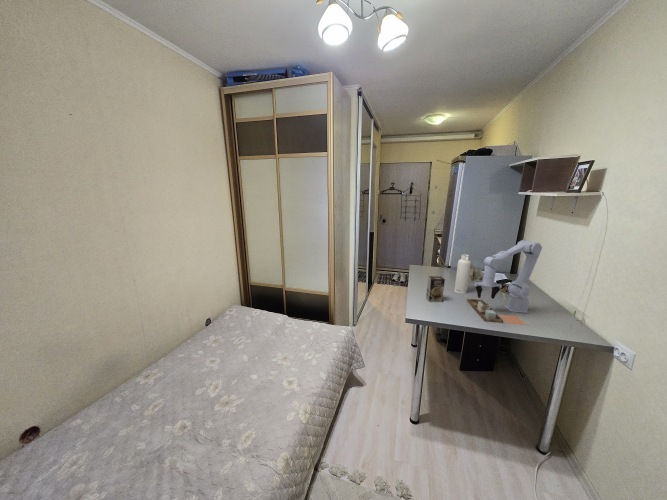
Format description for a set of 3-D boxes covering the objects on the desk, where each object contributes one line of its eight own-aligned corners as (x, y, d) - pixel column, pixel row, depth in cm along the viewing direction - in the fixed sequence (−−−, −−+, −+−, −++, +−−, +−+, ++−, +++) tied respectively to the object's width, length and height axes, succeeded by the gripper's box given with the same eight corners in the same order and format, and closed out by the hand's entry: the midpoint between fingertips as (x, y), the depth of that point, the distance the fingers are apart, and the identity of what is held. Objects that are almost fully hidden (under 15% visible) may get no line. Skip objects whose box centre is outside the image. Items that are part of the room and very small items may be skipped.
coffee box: (428, 301, 166) (431, 279, 162) (425, 297, 173) (427, 275, 169) (442, 302, 166) (445, 279, 162) (438, 298, 172) (441, 276, 168)
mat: (516, 316, 147) (516, 316, 147) (526, 325, 138) (527, 324, 137) (498, 315, 148) (498, 314, 148) (507, 324, 139) (507, 323, 139)
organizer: (481, 302, 166) (482, 299, 165) (502, 323, 140) (503, 320, 139) (466, 301, 167) (466, 298, 167) (484, 322, 141) (485, 319, 140)
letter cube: (485, 309, 155) (486, 301, 154) (489, 313, 150) (490, 305, 149) (477, 308, 156) (478, 301, 155) (480, 312, 151) (481, 304, 150)
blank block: (491, 316, 146) (492, 310, 145) (495, 319, 142) (496, 313, 142) (484, 315, 147) (485, 309, 146) (487, 319, 143) (488, 313, 142)
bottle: (463, 289, 187) (468, 253, 180) (468, 294, 179) (473, 256, 173) (452, 289, 188) (457, 253, 181) (456, 293, 180) (461, 256, 173)
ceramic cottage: (458, 279, 208) (462, 262, 204) (467, 276, 218) (471, 260, 214) (478, 286, 196) (482, 268, 192) (486, 282, 206) (491, 265, 202)
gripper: (498, 275, 150) (495, 295, 154) (473, 273, 152) (470, 294, 156) (504, 279, 144) (501, 300, 147) (478, 277, 146) (475, 299, 149)
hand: (485, 297), depth 151 cm, fingers open, 7 cm apart
